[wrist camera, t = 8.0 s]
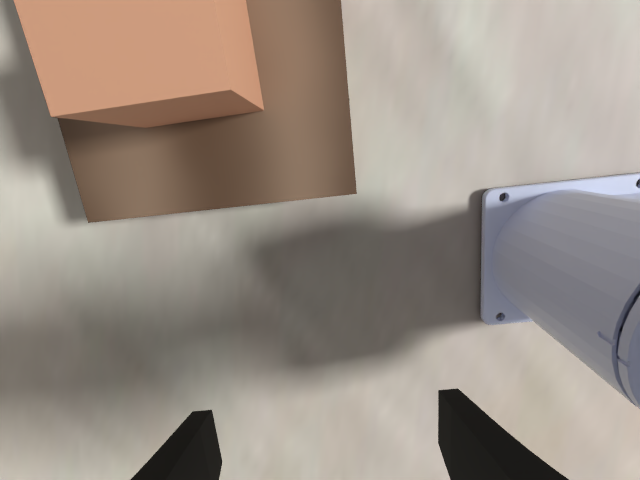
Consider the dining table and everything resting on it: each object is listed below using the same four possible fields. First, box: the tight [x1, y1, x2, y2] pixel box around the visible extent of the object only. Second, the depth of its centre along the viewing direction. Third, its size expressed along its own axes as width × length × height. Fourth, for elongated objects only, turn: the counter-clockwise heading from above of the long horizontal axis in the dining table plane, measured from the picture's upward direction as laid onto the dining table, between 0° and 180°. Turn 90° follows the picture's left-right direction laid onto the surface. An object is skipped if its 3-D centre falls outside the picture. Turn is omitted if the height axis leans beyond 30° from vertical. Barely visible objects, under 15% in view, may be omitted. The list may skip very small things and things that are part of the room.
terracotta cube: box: [14, 0, 264, 128], centre depth 11 cm, size 5×5×5 cm
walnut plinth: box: [58, 0, 357, 223], centre depth 15 cm, size 12×12×4 cm
